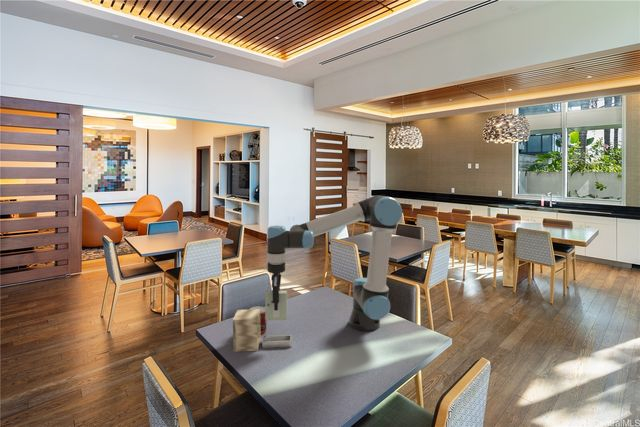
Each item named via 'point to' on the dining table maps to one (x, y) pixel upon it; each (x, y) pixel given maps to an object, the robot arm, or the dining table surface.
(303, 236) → the robot arm
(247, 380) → the dining table surface
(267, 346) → the grey rectangular frame
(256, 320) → the open wooden box
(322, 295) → the dining table surface
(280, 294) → the pale green rectangular block
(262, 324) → the canned food
